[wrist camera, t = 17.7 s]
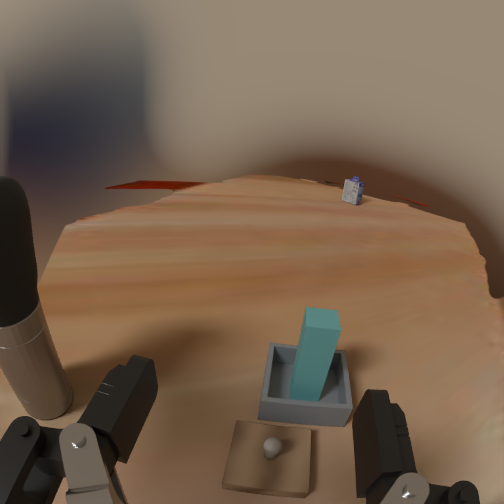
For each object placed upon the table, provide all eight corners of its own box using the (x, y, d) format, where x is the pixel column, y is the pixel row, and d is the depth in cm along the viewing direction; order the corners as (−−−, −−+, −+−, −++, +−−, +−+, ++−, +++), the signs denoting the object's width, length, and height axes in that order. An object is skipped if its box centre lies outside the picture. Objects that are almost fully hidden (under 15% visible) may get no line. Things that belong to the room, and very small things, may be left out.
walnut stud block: (222, 488, 29) (222, 470, 27) (236, 428, 38) (238, 404, 36) (305, 498, 28) (316, 480, 26) (308, 436, 37) (317, 413, 35)
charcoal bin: (257, 419, 40) (260, 400, 38) (266, 362, 52) (269, 342, 50) (343, 426, 39) (352, 408, 37) (338, 369, 50) (345, 350, 49)
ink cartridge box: (361, 204, 163) (365, 178, 157) (355, 205, 160) (360, 179, 154) (346, 199, 170) (350, 174, 164) (341, 200, 167) (345, 174, 161)
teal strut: (289, 398, 43) (306, 326, 37) (290, 378, 47) (305, 307, 41) (318, 401, 43) (341, 329, 37) (317, 381, 47) (337, 310, 41)
